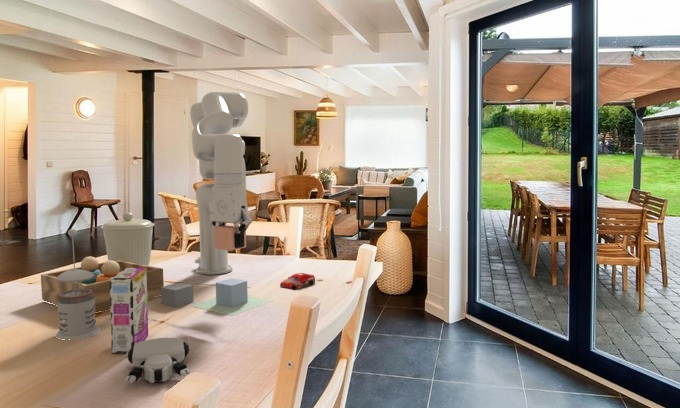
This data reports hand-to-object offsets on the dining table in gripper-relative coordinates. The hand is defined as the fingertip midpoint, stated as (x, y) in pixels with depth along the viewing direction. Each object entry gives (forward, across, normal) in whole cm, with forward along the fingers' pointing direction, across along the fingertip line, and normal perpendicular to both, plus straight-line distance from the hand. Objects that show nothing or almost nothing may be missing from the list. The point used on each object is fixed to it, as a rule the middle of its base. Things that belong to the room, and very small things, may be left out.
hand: (230, 245), depth 141 cm
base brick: (+16, 0, 0) cm, 16 cm away
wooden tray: (+17, -38, -14) cm, 44 cm away
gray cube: (+17, -13, -8) cm, 23 cm away
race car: (+18, +1, +28) cm, 33 cm away
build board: (+17, 0, 0) cm, 17 cm away
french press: (+18, -17, -34) cm, 42 cm away
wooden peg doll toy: (+18, -38, -12) cm, 43 cm away
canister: (+17, -65, +13) cm, 69 cm away
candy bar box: (+18, +1, -32) cm, 36 cm away
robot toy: (+18, +18, -38) cm, 45 cm away
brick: (+1, 0, 0) cm, 1 cm away
